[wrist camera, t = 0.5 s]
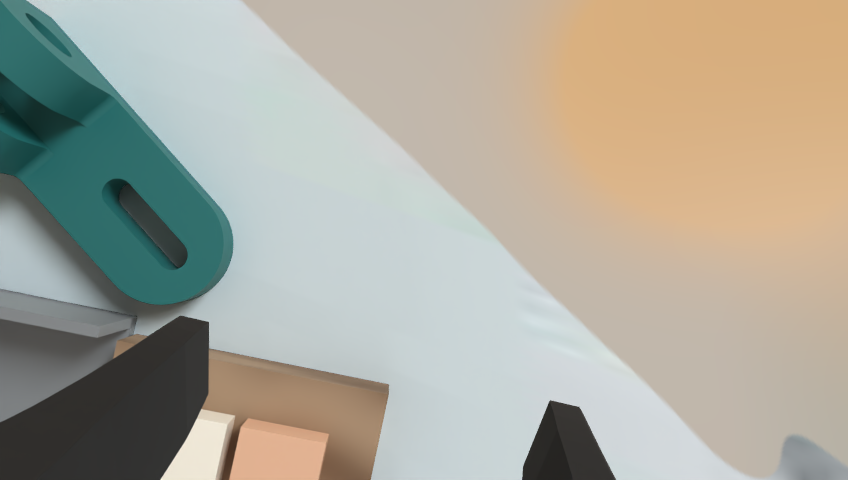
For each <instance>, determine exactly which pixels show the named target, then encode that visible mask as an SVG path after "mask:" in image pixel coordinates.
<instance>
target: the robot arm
mask: <svg viewBox="0 0 848 480" xmlns="http://www.w3.org/2000/svg"><path fill="white" fill-rule="evenodd" d="M208 394H209V322H206V321H202V320H197V319H193V318H188V317H184V316H179V317H178V318H176V319H174V320H173V321H171V322H169V323H168V324H166V325H165V326H163V327H162V328H160V329H159V330H157V331H155V332H154V333H152V334H151V335H149V336H148V337H146V338H145V339H143V340H142V341H140V342H139V343H137V344H136V345H134V346H132V347H131V348H129V349H128V350H126V351H125V352H123V353H122V354H120V355H118V356H117V357H115V358H114V359H112V360H110V361H109V362H107V363H106V364H104V365H102V366H101V367H99V368H98V369H96V370H94V371H93V372H91V373H89V374H88V375H86V376H85V377H83V378H81V379H79V380H78V381H76V382H74V383H73V384H71V385H69V386H67V387H65V388H64V389H62V390H60V391H58V392H57V393H55V394H53V395H51V396H50V397H48V398H46V399H44V400H43V401H41V402H39V403H37V404H35V405H33V406H31V407H30V408H28V409H26V410H24V411H22V412H20V413H18V414H16V415H14V416H12V417H10V418H8V419H6V420H4V421H2V422H0V480H161V478H162V477H163V475H164V473H165V472H166V470H167V469H168V467H169V466H170V464H171V463H172V461H173V459H174V458H175V456H176V455H177V453H178V452H179V450H180V449H181V447H182V445H183V444H184V442H185V441H186V439H187V437H188V435H189V433H190V431H191V429H192V427H193V425H194V423H195V421H196V419H197V417H198V415H199V413H200V411H201V409H202V407H203V405H204V402H205V400H206V398H207V396H208ZM522 480H616V479H615V477H614V475H613V473H612V471H611V469H610V467H609V465H608V463H607V461H606V459H605V457H604V455H603V454H602V452H601V450H600V448H599V446H598V443H597V441H596V439H595V437H594V435H593V433H592V431H591V429H590V427H589V425H588V423H587V421H586V419H585V417H584V415H583V413H582V411H581V409H580V408H579V407H577V406H572V405H568V404H563V403H559V402H555V401H549V404H548V406H547V409H546V411H545V414H544V416H543V419H542V421H541V424H540V426H539V429H538V431H537V434H536V436H535V438H534V441H533V443H532V446H531V448H530V451H529V453H528V456H527V458H526V461H525V463H524V466H523V477H522Z"/></svg>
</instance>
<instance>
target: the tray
mask: <svg viewBox="0 0 848 480" xmlns="http://www.w3.org/2000/svg"><path fill="white" fill-rule="evenodd" d="M136 319H137V316H132V315H127V314H122V313H117V312H112V311H107V310H102V309H97V308H92V307H87V306H82V305H77V304H72V303H67V302H62V301H57V300H52V299H47V298H42V297H37V296H32V295H27V294H23V293H18V292H13V291H8V290H3V289H0V422H2V421H4V420H6V419H8V418H10V417H12V416H14V415H16V414H18V413H20V412H22V411H24V410H26V409H28V408H30V407H31V406H33V405H35V404H37V403H39V402H41V401H43V400H44V399H46V398H48V397H50V396H51V395H53V394H55V393H57V392H58V391H60V390H62V389H64V388H65V387H67V386H69V385H71V384H73V383H74V382H76V381H78V380H79V379H81V378H83V377H85V376H86V375H88V374H89V373H91V372H93V371H94V370H96V369H98V368H99V367H101V366H102V365H104V364H106V363H107V362H109V361H110V360H112V359H113V357H114V352H115V348H116V343H117V340H120V339H123V338H126V337H129V336H132V335H133V333H134V328H135V324H136Z"/></svg>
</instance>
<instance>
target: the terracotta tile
mask: <svg viewBox="0 0 848 480" xmlns="http://www.w3.org/2000/svg"><path fill="white" fill-rule="evenodd" d="M328 437H329V434H327V433H322V432H316V431H311V430H306V429H301V428H296V427H291V426H286V425H280V424H275V423H270V422H265V421H260V420H255V419H250V418H248V419H247V420H246V421H245V423H244V424H243V425H242V426H241V428H240V433H239V437H238V442H237V447H236V451H235V456H234V460H233V465H232V469H231V474H230V478H229V480H319V479H320V475H321V470H322V465H323V461H324V456H325V451H326V447H327V442H328Z"/></svg>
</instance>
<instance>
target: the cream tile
mask: <svg viewBox="0 0 848 480" xmlns="http://www.w3.org/2000/svg"><path fill="white" fill-rule="evenodd" d="M234 420H235V416H234V415H229V414H224V413H219V412H214V411H208V410H203V409H201V411H200V413H199V415H198V417H197V419H196V421H195V423H194V425H193V427H192V429H191V431H190V433H189V435H188V437H187V439H186V441H185V442H184V444H183V445H182V447H181V449H180V450H179V452H178V453H177V455H176V456H175V458H174V459H173V461H172V463H171V464H170V466H169V467H168V469H167V470H166V472H165V473H164V475H163V477H162V478H161V480H221V479H222V475H223V470H224V466H225V461H226V456H227V452H228V447H229V443H230V438H231V434H232V429H233V425H234Z"/></svg>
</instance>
